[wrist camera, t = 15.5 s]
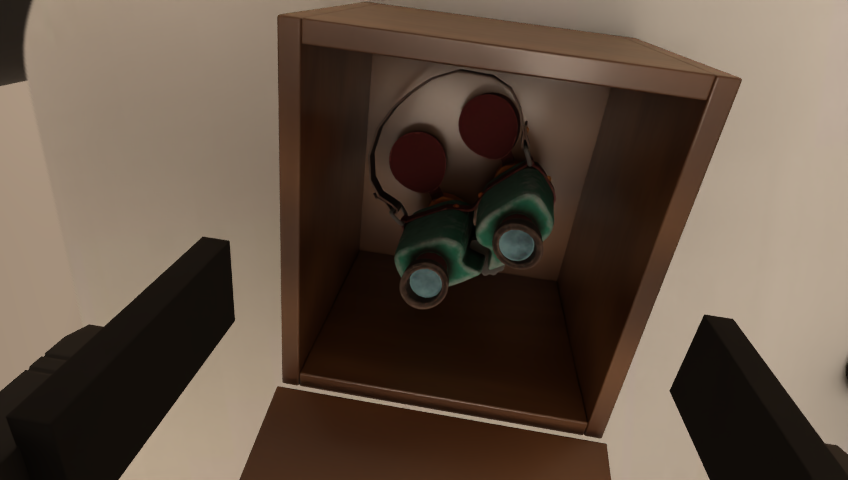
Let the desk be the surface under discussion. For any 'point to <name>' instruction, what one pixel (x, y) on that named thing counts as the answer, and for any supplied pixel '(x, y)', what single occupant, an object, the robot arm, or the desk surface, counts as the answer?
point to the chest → (465, 178)
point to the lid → (406, 445)
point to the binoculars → (452, 217)
